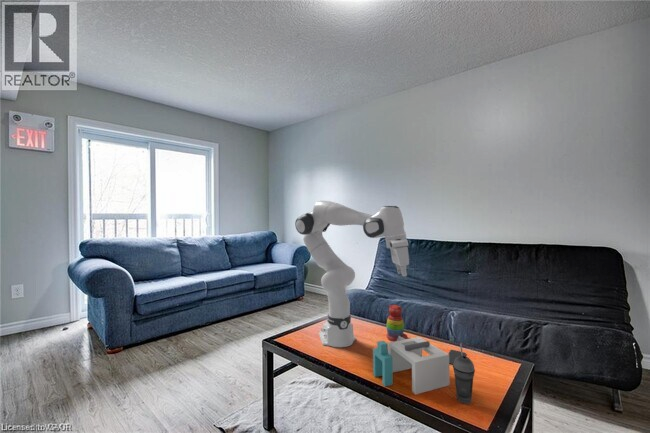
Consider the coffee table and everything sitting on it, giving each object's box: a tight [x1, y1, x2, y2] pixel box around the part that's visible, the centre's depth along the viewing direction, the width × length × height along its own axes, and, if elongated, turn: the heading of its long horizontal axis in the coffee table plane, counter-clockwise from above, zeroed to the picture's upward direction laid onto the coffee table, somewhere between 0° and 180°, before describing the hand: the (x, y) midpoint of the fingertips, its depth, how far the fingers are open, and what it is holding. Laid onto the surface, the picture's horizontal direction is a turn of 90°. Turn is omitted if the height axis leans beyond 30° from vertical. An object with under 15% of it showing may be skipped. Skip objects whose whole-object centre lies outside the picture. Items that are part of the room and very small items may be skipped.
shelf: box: [387, 336, 450, 395], centre depth 120 cm, size 18×16×14 cm
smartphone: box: [447, 349, 467, 366], centre depth 136 cm, size 7×1×15 cm
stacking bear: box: [385, 304, 409, 342], centre depth 159 cm, size 11×10×18 cm
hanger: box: [372, 340, 394, 387], centre depth 119 cm, size 9×4×15 cm, turn 21°
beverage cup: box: [452, 342, 476, 405], centre depth 105 cm, size 7×7×20 cm
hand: (402, 274), depth 124 cm, fingers open, 8 cm apart
